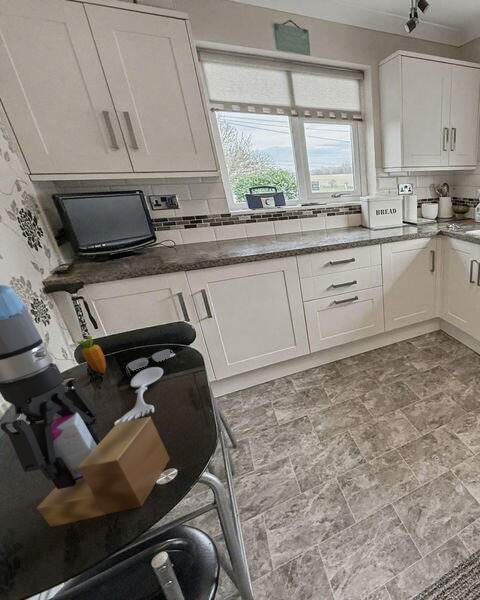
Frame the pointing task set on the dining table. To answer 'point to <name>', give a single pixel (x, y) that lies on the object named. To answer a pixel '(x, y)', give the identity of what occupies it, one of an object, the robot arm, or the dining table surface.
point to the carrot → (93, 355)
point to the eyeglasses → (143, 361)
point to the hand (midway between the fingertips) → (82, 468)
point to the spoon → (141, 382)
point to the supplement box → (72, 442)
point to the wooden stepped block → (111, 475)
